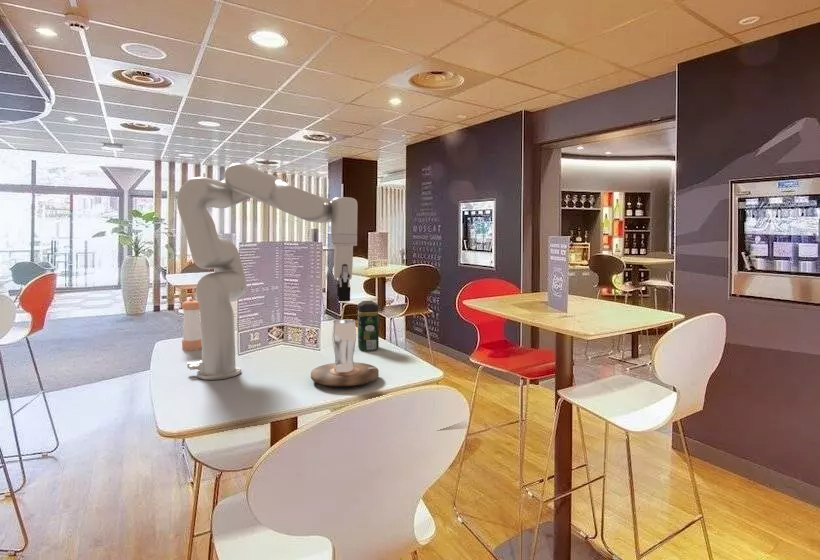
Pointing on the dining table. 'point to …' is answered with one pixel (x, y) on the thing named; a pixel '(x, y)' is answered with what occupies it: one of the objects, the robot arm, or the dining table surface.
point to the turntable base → (344, 386)
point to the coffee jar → (368, 326)
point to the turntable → (344, 375)
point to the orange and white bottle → (191, 325)
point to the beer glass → (344, 345)
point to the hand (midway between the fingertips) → (343, 298)
